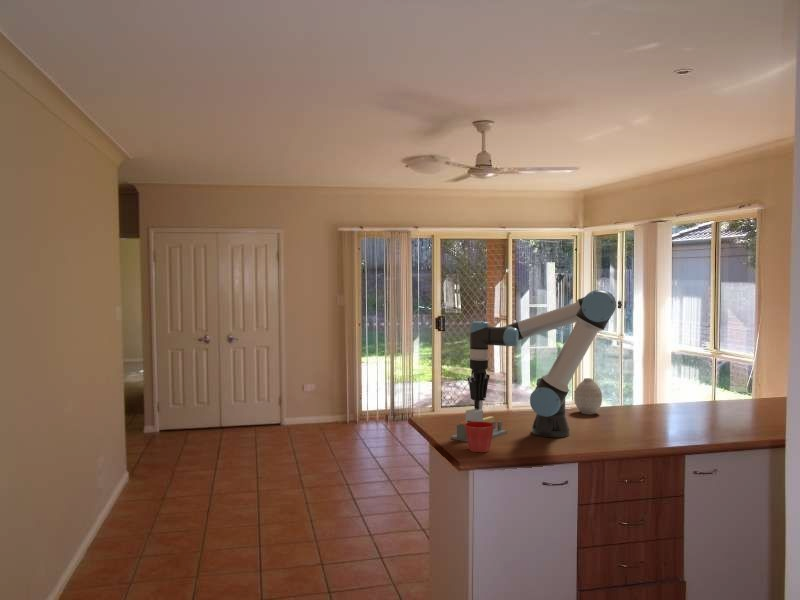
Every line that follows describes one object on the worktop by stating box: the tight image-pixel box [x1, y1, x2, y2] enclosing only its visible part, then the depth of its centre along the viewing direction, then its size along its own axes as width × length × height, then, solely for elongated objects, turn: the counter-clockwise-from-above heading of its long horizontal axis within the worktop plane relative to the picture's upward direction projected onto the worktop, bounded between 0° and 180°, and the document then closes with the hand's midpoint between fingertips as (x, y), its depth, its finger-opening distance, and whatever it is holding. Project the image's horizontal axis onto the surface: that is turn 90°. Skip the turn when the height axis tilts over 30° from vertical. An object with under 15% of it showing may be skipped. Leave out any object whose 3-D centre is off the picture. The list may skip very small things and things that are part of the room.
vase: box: [573, 377, 603, 416], centre depth 305 cm, size 13×13×17 cm
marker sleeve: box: [465, 408, 484, 423], centre depth 258 cm, size 5×5×8 cm
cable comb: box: [450, 415, 508, 443], centre depth 260 cm, size 12×23×7 cm, turn 139°
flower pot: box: [465, 421, 494, 453], centre depth 238 cm, size 11×11×10 cm
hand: (478, 416), depth 261 cm, fingers closed
